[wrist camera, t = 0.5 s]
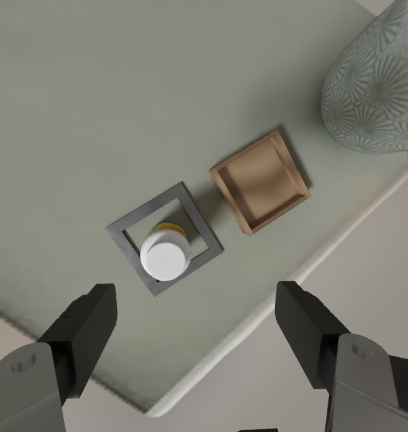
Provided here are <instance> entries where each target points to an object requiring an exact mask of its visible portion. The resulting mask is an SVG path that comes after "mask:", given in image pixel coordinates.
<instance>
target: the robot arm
mask: <svg viewBox="0 0 408 432" xmlns="http://www.w3.org/2000/svg"><path fill="white" fill-rule="evenodd" d="M275 316H276V320H277V323H278V325H279V326H280V328H281V330H282V332H283V334H284V335H285V337H286V339H287V341H288V343H289V345H290V347H291V348H292V350H293V352H294V354H295V356H296V357H297V359H298V361H299V363H300V365H301V367H302V368H303V370H304V372H305V374H306V376H307V378H308V379H309V381H310V383H311V385H312V387H313V389H326V390H327V391H328V393H329V398H328V406H327V415H326V424H325V432H408V359H405V358H400V357H395V356H391V355H388V354H387V353H386V351H385V350H384V349H383V348H382V347H381V346H379V345H378V344H377V343H375V342H374V341H372V340H370V339H368V338H366V337H364V336H361V335H357V334H352V333H351V332H350V331H349V330H348V329H347V328H346V327H345V326H344V325H343V324H342V323H341V322H340V321H339V320H338V319H337V318H336V317H335V316H334V315H333V314H332V313H330V310H329V309H328V308H327V307H326V306H324V304H323V303H322V302H321V301H320V300H319V299H318V298H317V297H315V296H314V295H312V294H311V293H309V292H307V291H303V289H302V288H301V287H300V286H299V285H298V284H297V283H296V282H295V281H279V282H278V284H277V291H276V302H275ZM116 321H117V302H116V290H115V285H114V284H113V283H111V284H96V285H95V286H94V287H93V288H92V290H91V291H90V292H89V293H88V294H87V295H82V296H81V297H79V298H78V299H76V300H75V301H73V302H72V303H71V304H70V305H69V306H68V308H67V309H66V310H65V311H64V312H63V313H62V314H61V315H60V316H59V318H58V319H57V320H56V321H55V322H54V323H53V324H52V325H51V326H50V327H49V329H48V330H47V331H46V332H45V333H44V334H43V335H42V336H41V337H40V339H39V340H38V341H37V342H36V343H31V344H28V345H25V346H22V347H20V348H18V349H16V350H14V351H13V352H11V353H10V354H8V355H7V356H5V357H4V358H3V359H2V360H1V361H0V432H66V429H65V423H64V418H63V412H62V406H63V405H64V403H65V401H66V399H69V398H80V396H81V394H82V392H83V390H84V388H85V386H86V384H87V382H88V380H89V378H90V376H91V374H92V372H93V370H94V368H95V366H96V364H97V362H98V360H99V358H100V356H101V354H102V352H103V350H104V347H105V345H106V343H107V341H108V339H109V337H110V335H111V333H112V331H113V329H114V327H115V325H116ZM238 432H278V429H277V428H275V429H256V430H240V431H238Z"/></svg>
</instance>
